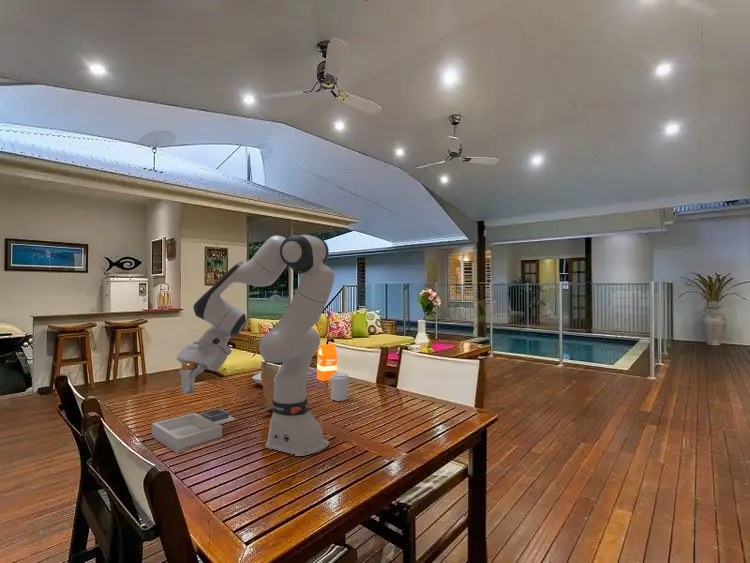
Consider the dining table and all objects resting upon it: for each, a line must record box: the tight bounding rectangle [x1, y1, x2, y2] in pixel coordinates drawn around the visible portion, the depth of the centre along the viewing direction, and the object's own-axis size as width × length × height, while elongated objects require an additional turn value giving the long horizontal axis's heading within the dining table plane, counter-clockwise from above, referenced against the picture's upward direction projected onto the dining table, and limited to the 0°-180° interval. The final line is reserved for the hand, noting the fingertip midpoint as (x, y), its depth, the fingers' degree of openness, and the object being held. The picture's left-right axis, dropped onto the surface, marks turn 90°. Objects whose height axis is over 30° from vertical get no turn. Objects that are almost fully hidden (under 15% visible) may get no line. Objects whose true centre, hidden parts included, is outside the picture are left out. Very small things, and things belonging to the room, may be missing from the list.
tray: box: [151, 412, 223, 454], centre depth 136 cm, size 20×15×4 cm
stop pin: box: [180, 362, 196, 395], centre depth 136 cm, size 4×4×10 cm
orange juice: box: [316, 343, 338, 382], centre depth 220 cm, size 8×9×20 cm
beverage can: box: [330, 371, 349, 402], centre depth 184 cm, size 8×8×12 cm
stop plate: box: [199, 408, 236, 425], centre depth 153 cm, size 14×10×3 cm
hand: (186, 375), depth 135 cm, fingers closed on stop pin, 4 cm apart
